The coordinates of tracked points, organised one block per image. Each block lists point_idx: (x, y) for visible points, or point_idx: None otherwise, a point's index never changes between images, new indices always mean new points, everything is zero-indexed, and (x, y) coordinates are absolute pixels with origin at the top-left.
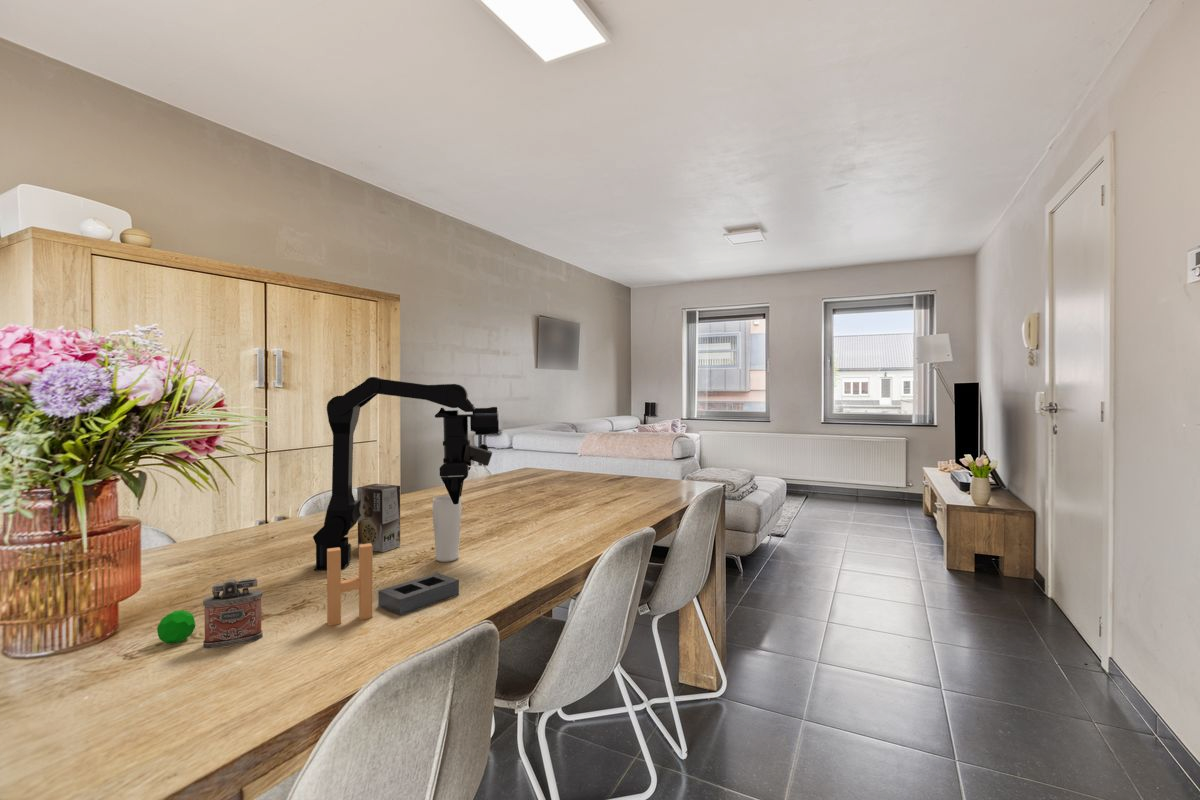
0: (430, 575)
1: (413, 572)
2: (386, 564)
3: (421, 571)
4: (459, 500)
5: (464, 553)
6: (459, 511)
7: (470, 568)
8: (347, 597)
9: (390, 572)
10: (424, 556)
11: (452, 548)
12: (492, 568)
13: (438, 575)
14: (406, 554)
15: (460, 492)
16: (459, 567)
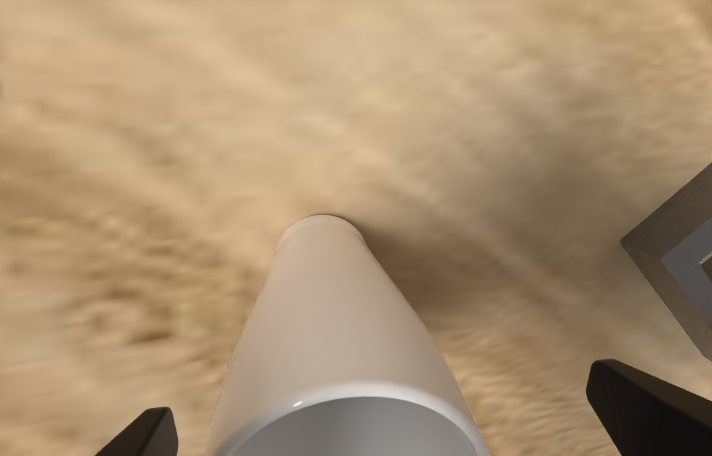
0: (681, 274)
1: (457, 338)
2: None
3: (453, 317)
4: (411, 376)
5: (238, 194)
6: (391, 310)
7: (458, 147)
8: None
9: None
10: None
11: (369, 249)
12: (479, 49)
13: (692, 247)
14: None
15: (149, 451)
16: (436, 193)
